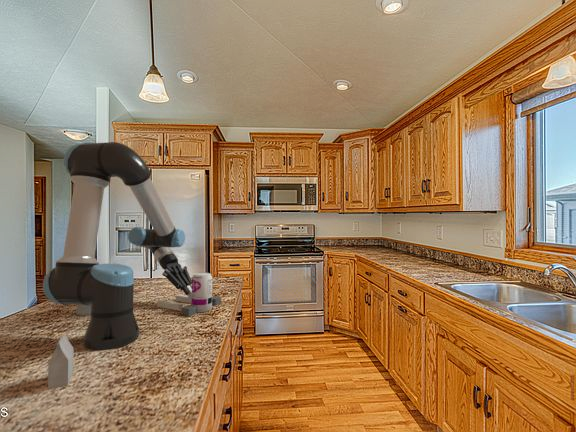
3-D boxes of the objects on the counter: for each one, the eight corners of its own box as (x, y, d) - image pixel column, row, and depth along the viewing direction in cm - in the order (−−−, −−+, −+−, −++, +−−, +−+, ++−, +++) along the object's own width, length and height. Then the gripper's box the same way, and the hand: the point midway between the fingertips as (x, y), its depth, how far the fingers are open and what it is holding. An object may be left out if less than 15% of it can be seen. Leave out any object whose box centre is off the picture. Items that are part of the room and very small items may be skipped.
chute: (188, 316, 120) (189, 308, 120) (149, 309, 129) (149, 301, 129) (221, 303, 138) (221, 297, 138) (184, 297, 147) (184, 291, 147)
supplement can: (198, 314, 123) (198, 276, 123) (187, 309, 128) (188, 274, 129) (215, 309, 129) (216, 274, 129) (205, 305, 134) (205, 271, 134)
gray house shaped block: (73, 372, 77) (73, 332, 77) (68, 385, 70) (68, 342, 71) (55, 375, 75) (55, 334, 75) (48, 389, 69) (48, 345, 69)
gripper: (172, 261, 146) (199, 301, 139) (150, 265, 135) (178, 308, 127) (181, 251, 144) (209, 290, 137) (158, 254, 132) (188, 297, 125)
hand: (194, 299), depth 132 cm, fingers closed
